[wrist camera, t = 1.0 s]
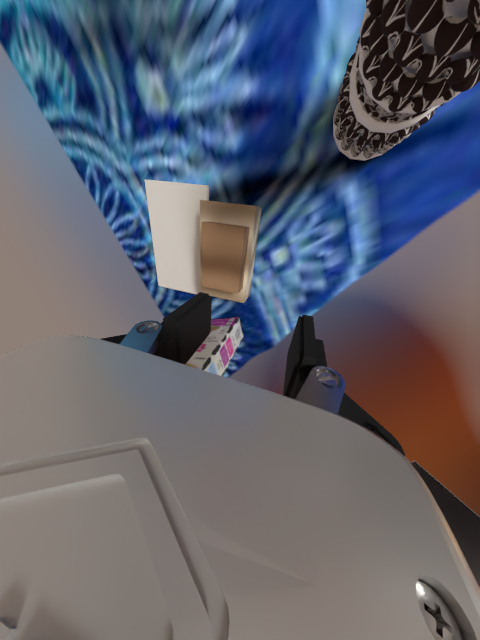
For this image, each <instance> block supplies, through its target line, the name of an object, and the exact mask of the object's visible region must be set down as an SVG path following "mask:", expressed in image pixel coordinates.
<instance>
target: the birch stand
mask: <svg viewBox="0 0 480 640" xmlns="http://www.w3.org/2000/svg"><path fill="white" fill-rule="evenodd" d="M261 208H262V207H258V206H252V205H243V204H234V203H225V202H216V201H206V200H200V270H201V292H203V293H207V294H209V296H214V297H218V298H223V299H227V300H232V301H237V302H241V303H244V302H245V301H246V299H247V298H248V296H249V295H250V288H251V281H252V274H253V266H254V259H255V252H256V245H257V237H258V230H259V223H260V216H261ZM209 221H210V222H217V223H225V224H232V225H239V226H247V227H250V229H249V238H248V246H247V255H246V264H245V272H244V281H243V289H242V290H241V291H240V292H239V293H238V294H236V293H232V292H227V291H222V290H217V289H213V288H208V287H203V286H202V222H209Z"/></svg>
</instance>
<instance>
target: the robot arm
mask: <svg viewBox="0 0 480 640" xmlns="http://www.w3.org/2000/svg"><path fill="white" fill-rule="evenodd" d="M211 300H212V299H211V296H209V294H207V293H203V292H199V293H198V294H197V295H195V296H194V297H193V298H191V299H190V300H188V301H187V302H186V303H184V304H183V305H181V306H180V307H179V308H177V309H176V310H175V311H173V312H172V313H170V314H169V315H168V316H166V317H165V318H163V322H162V323H159V322H157V321H144V322H140V323H138V324H136V325H135V326H134V327H133V328H132V329H131V331H130V332H129V333H128V334H126V335H120V336H114V337H108V338H103V339H96V338H91V337H84V336H70V335H69V336H54V337H47V338H44V339H40V340H38V341H35V342H32V343H30V344H27V345H25V346H23V347H20V348H18V349H15V350H13V351H11V352H9V353H6V354H4V355H2V356H0V640H480V517H479V516H478V515H477V514H476V513H474V512H473V511H472V510H471V509H470V508H468V507H467V506H466V505H465V504H464V503H463V502H461V501H460V500H459V499H458V498H457V497H456V496H455V495H454V494H452V493H451V492H450V491H449V490H448V489H447V488H445V487H444V486H443V485H442V484H441V483H440V482H438V481H437V480H436V479H435V478H434V477H433V476H431V475H430V474H429V473H428V472H427V471H426V470H425V469H423V468H422V467H421V466H420V465H419V464H418V463H417V462H415V461H413V462H412V463H411V462H410V461H409V460H408V459H407V458H405V453H404V451H403V449H402V447H401V445H400V444H399V442H398V441H397V440H396V439H395V438H394V437H393V436H392V434H391V433H389V432H388V431H387V430H386V429H385V428H384V427H383V426H381V425H380V424H379V423H378V422H377V421H376V420H375V419H373V418H372V417H371V416H370V415H369V414H368V413H367V412H366V411H364V410H363V409H362V408H361V407H360V406H359V405H357V404H356V403H355V402H354V401H353V400H352V399H351V398H350V397H348V396H347V395H346V394H345V393H344V390H345V381H344V379H343V378H342V377H341V375H340V374H338V373H337V372H336V371H334V370H333V369H331V368H328V367H327V363H326V357H325V352H324V345H323V341H322V340H318V339H315V332H314V322H313V317H312V316H307V315H303V316H302V317H301V316H299V318H298V321H297V324H296V328H295V331H294V334H293V338H292V341H291V344H290V347H289V351H288V355H287V364H286V374H285V383H284V392H283V395H280V394H277V393H274V392H271V391H268V390H264V389H261V388H258V387H255V386H252V385H249V384H245V383H242V382H239V381H236V380H232V379H229V378H226V377H223V376H220V375H217V374H213V373H210V372H207V371H204V370H200V369H197V368H194V367H191V366H188V365H185V364H186V363H187V362H188V361H189V359H190V358H191V357H192V356H193V354H194V353H195V352H196V351H197V349H198V348H199V347H200V346H201V344H202V343H203V342H204V341H205V339H206V338H207V337H208V336H209V334H210V331H211Z"/></svg>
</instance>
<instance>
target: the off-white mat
mask: <svg viewBox="0 0 480 640" xmlns="http://www.w3.org/2000/svg"><path fill="white" fill-rule="evenodd" d="M145 186H146V194H147V201H148V209H149V217H150V224H151V232H152V239H153V247H154V255H155V262H156V270H157V277H158V285H159V286H161V287H166V288H170V289H175V290H179V291H184V292H188V293H193V294H198V293H199V292H201V270H200V200H206V201H209V186H208V185H197V184H187V183H176V182H165V181H154V180H145Z"/></svg>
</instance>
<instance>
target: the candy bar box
mask: <svg viewBox="0 0 480 640" xmlns="http://www.w3.org/2000/svg"><path fill="white" fill-rule="evenodd" d="M242 338H243V332H242V328H241V324H240V320H239V317H232V318H221V319H211V331H210V334H209V336H208V337H207V338H206V339H205V341H204V342H203V343H202V344H201V346H200V347H199V348H198V349H197V351H196V352H195V353H194V354H193V356H192V357H191V358H190V359H189V361H188V362H187V363H186V364H185V365H188V366H191V367H194V368H197V369H200V370H204V371H207V372H210V373H213V374H217V375H220V376H223V374H224V372H225V370H226V368H227V366H228V364H229V362H230V360H231V359H232V357H233V355H234V353H235V351H236V349H237V347H238V346H239V344H240V342H241V340H242Z"/></svg>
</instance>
